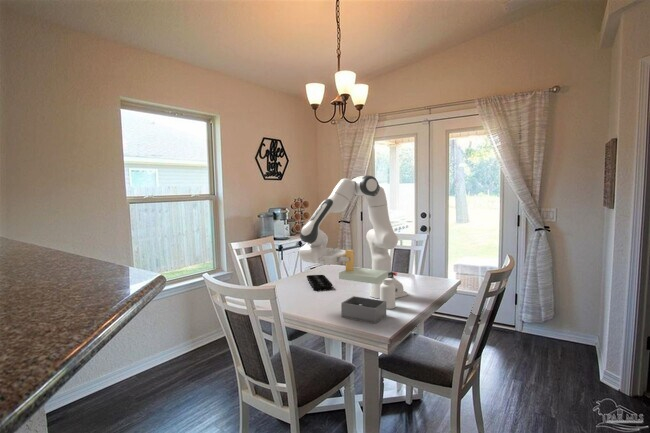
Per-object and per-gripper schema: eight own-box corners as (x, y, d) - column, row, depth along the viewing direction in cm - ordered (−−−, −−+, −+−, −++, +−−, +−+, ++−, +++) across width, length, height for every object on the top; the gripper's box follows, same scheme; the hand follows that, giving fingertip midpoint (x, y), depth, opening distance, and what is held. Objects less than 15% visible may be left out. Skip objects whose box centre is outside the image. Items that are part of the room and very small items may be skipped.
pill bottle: (393, 304, 191) (393, 276, 190) (396, 309, 183) (396, 280, 182) (378, 304, 191) (378, 277, 190) (381, 309, 183) (381, 280, 182)
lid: (388, 277, 173) (388, 250, 172) (376, 284, 161) (376, 255, 160) (352, 272, 183) (352, 247, 182) (339, 278, 171) (338, 252, 170)
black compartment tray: (322, 278, 251) (322, 273, 250) (341, 289, 223) (341, 283, 223) (298, 281, 243) (298, 276, 243) (315, 292, 216) (315, 286, 216)
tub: (386, 315, 175) (386, 301, 174) (375, 323, 163) (375, 308, 163) (353, 309, 184) (353, 296, 183) (341, 317, 173) (341, 302, 172)
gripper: (316, 253, 173) (341, 255, 166) (336, 247, 191) (360, 249, 183) (316, 266, 174) (341, 268, 166) (336, 258, 191) (360, 261, 184)
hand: (351, 258), depth 175 cm, fingers closed on lid, 3 cm apart
